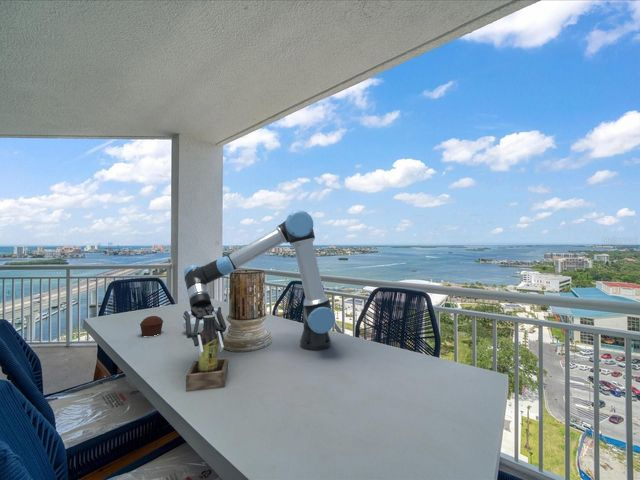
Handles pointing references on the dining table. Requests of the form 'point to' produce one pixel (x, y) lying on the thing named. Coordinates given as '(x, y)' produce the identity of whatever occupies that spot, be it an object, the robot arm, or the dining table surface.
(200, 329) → the cereal bowl
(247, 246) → the robot arm
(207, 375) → the wooden open tray
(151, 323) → the muffin
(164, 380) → the dining table surface
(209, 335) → the sauce bottle
